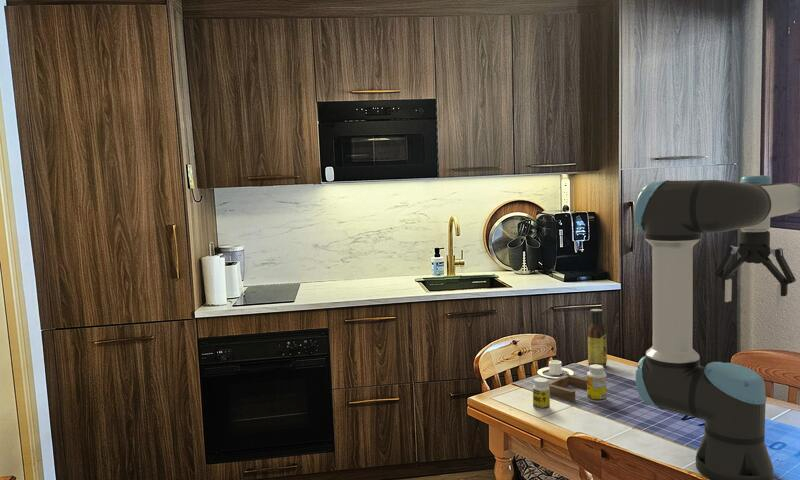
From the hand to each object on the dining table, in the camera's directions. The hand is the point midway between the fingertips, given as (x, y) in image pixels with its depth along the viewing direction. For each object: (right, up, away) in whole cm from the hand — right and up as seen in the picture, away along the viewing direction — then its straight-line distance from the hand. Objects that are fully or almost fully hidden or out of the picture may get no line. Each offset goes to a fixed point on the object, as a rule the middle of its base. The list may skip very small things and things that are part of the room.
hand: (753, 304), depth 174 cm
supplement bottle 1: (-60, -30, +2) cm, 67 cm away
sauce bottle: (-32, -26, +38) cm, 56 cm away
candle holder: (-48, -27, +32) cm, 64 cm away
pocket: (-48, -29, +13) cm, 58 cm away
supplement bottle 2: (-43, -29, +7) cm, 52 cm away
